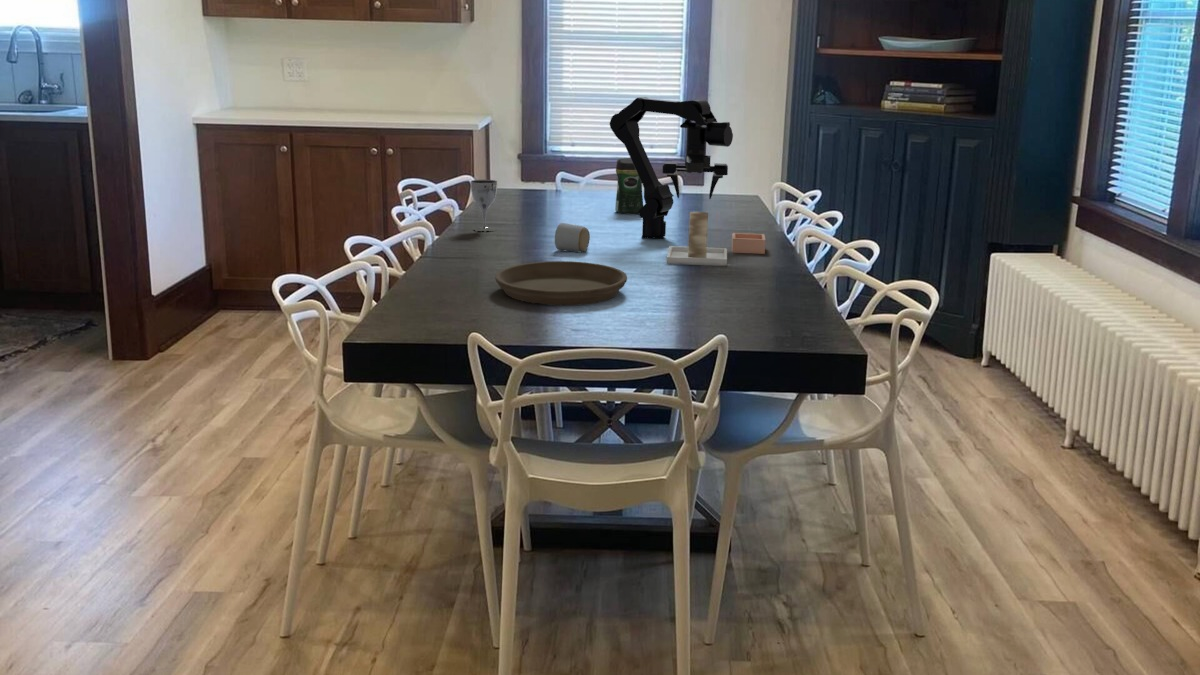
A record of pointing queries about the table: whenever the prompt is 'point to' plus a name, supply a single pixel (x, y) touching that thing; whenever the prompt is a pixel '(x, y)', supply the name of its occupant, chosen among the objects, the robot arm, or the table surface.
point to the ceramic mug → (571, 237)
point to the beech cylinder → (698, 234)
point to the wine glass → (484, 195)
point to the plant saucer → (561, 282)
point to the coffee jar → (628, 188)
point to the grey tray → (712, 258)
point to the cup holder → (748, 243)
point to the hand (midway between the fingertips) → (694, 198)
